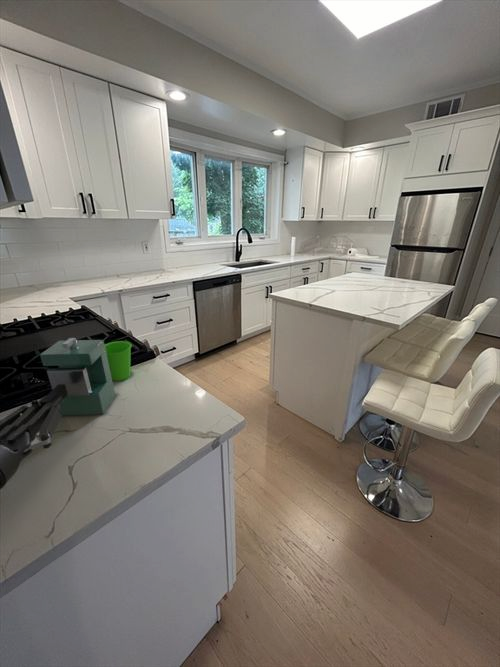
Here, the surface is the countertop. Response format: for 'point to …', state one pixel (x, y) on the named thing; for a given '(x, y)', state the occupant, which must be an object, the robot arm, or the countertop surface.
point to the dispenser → (97, 370)
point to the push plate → (71, 380)
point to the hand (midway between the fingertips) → (62, 389)
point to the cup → (119, 359)
